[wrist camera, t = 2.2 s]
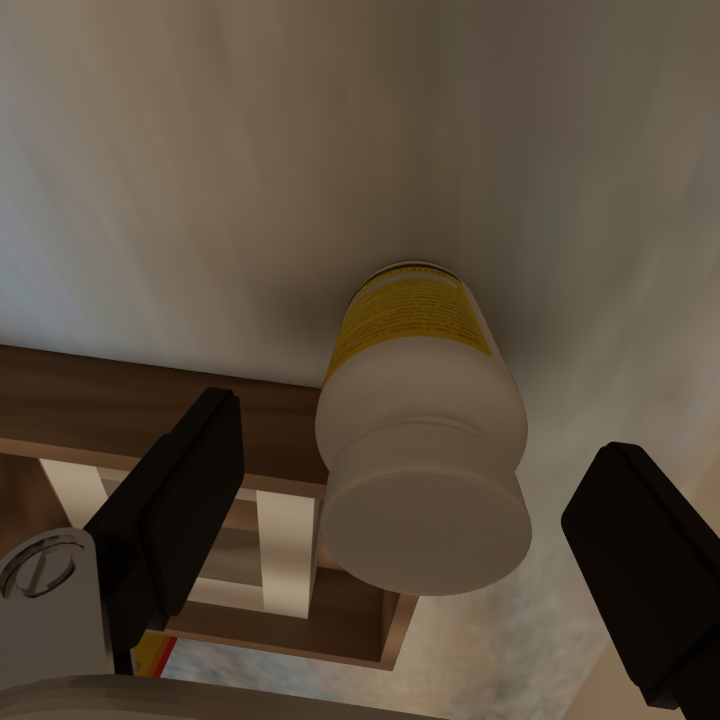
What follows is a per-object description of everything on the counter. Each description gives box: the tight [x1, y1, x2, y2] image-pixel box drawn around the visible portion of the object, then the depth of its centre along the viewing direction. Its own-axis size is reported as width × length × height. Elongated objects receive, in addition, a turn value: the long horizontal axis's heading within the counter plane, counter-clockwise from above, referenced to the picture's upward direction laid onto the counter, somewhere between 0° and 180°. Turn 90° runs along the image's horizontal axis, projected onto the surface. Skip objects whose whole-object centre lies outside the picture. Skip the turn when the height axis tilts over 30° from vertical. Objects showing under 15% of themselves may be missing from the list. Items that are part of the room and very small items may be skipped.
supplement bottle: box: [315, 261, 532, 596], centre depth 11 cm, size 5×5×10 cm
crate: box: [0, 345, 419, 671], centre depth 19 cm, size 14×22×6 cm, turn 84°
